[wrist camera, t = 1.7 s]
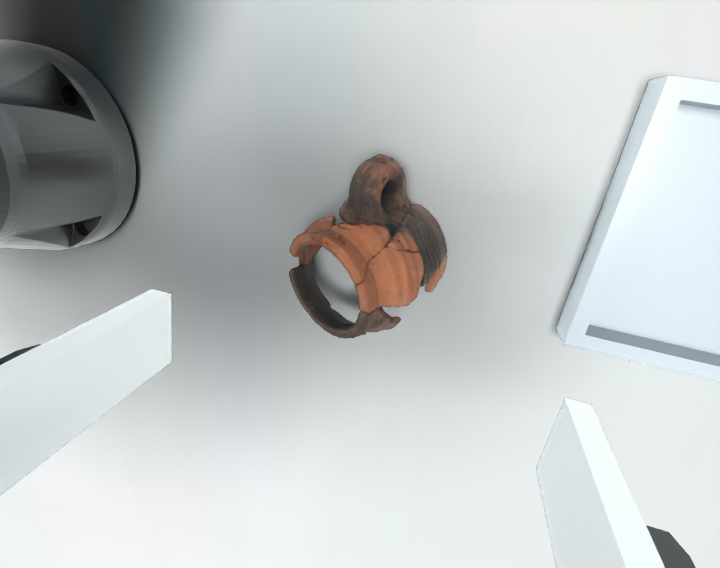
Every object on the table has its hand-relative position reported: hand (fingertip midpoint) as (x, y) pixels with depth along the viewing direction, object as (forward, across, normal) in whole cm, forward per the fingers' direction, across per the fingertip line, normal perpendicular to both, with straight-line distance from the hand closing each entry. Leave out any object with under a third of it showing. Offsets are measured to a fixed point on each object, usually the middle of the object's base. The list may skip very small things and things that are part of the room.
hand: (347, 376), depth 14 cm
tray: (+18, +19, +4) cm, 26 cm away
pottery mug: (+19, -1, +1) cm, 19 cm away
